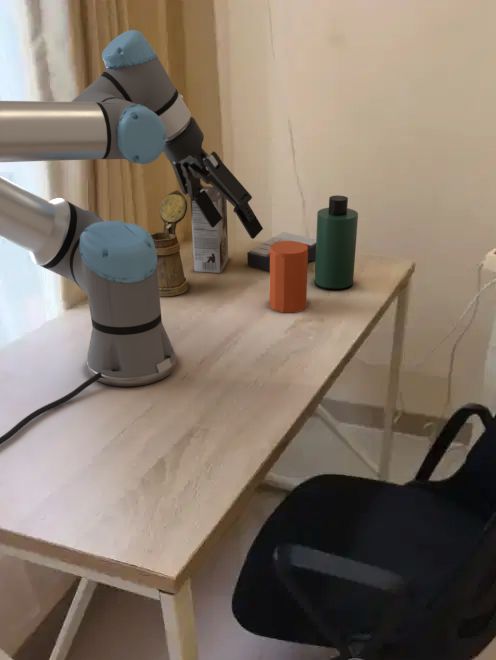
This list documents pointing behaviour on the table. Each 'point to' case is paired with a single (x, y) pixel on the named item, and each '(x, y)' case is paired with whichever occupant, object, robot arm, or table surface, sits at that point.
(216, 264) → the coffee box
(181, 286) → the wooden mug
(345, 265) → the flask
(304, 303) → the cap
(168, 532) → the table surface
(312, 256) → the red and grey box
